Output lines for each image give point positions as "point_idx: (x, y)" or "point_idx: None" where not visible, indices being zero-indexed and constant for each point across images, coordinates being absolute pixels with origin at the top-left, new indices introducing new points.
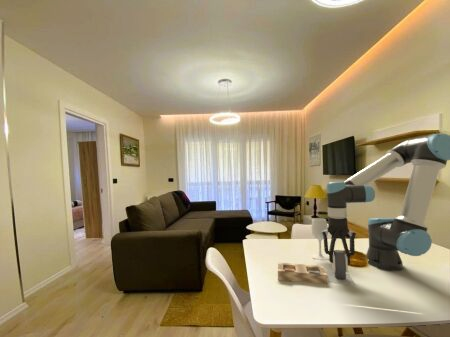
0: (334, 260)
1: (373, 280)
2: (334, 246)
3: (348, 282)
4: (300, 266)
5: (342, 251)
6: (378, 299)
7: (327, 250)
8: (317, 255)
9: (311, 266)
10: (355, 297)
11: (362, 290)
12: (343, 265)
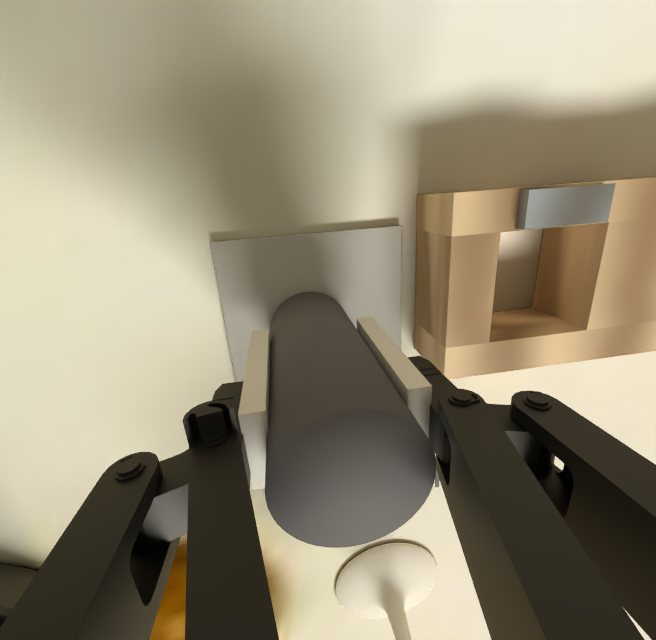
0: (394, 361)
1: (74, 373)
2: (494, 521)
3: (261, 265)
4: (630, 311)
5: (297, 505)
6: (51, 32)
7: (558, 428)
8: (410, 590)
9: (541, 340)
10: (238, 18)
11: (169, 173)
12: (293, 340)
